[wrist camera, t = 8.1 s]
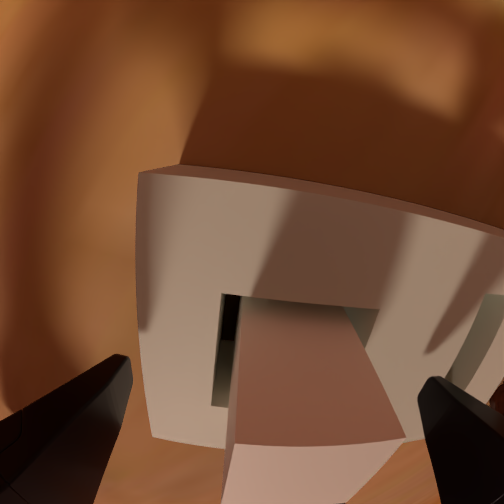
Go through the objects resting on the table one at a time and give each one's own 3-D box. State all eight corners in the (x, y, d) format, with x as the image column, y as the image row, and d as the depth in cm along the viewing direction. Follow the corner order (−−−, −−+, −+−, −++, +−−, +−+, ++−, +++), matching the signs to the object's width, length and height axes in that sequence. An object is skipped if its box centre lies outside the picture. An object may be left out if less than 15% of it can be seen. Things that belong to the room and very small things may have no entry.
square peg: (235, 330, 13) (220, 504, 5) (245, 262, 12) (234, 443, 4) (306, 338, 13) (345, 502, 5) (324, 273, 12) (406, 437, 4)
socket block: (171, 375, 13) (152, 436, 10) (178, 164, 10) (138, 172, 6) (441, 383, 14) (468, 426, 10) (505, 230, 11) (557, 256, 7)
